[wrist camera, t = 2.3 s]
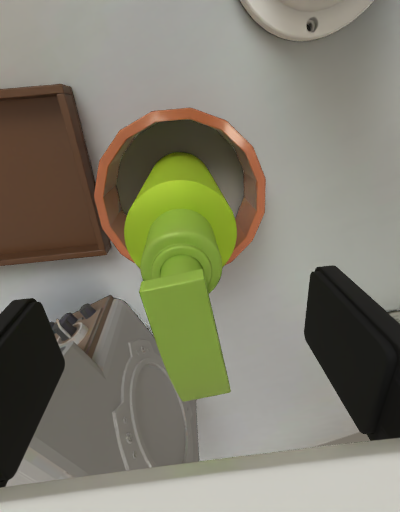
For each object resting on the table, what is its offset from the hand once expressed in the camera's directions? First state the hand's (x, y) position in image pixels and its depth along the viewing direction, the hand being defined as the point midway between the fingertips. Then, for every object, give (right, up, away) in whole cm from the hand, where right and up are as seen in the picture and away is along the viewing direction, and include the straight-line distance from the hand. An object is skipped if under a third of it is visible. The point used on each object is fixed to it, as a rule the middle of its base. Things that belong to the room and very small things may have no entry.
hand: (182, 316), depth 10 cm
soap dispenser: (-1, +9, +17) cm, 19 cm away
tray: (-18, +8, +15) cm, 25 cm away
